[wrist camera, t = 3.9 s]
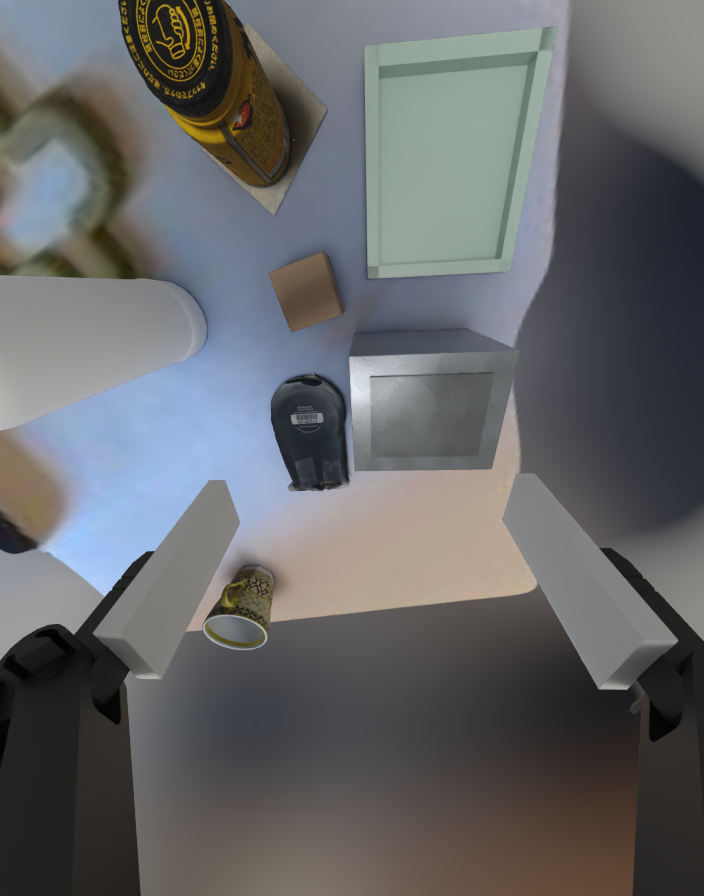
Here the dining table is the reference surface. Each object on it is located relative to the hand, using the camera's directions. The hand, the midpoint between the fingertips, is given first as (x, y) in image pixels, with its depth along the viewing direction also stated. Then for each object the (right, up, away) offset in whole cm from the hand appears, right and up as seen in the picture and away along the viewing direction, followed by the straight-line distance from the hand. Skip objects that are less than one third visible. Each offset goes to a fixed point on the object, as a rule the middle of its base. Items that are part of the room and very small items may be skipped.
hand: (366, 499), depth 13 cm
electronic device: (-6, +5, +24) cm, 26 cm away
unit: (+6, +11, +20) cm, 23 cm away
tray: (+7, +25, +11) cm, 29 cm away
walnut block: (-5, +18, +16) cm, 25 cm away
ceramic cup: (-19, -20, +39) cm, 47 cm away
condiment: (-8, +29, +10) cm, 32 cm away
